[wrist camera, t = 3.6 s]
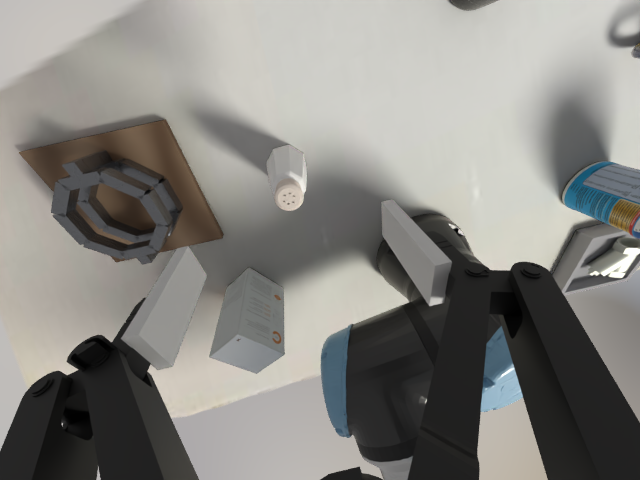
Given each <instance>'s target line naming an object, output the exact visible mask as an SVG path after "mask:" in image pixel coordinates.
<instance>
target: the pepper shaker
mask: <svg viewBox="0 0 640 480" xmlns="http://www.w3.org/2000/svg"><path fill="white" fill-rule="evenodd" d="M266 166H267V172H268V177H269V183H270V187H271V190H272V193H273V195H274V200H275V203H276V204H277V206H278V207H279V208H281V209H283V210H286V211H293V210H296V209H297V208H299V207H300V206H301V204H302V203H303V199H304V193H305V191H306V185H307V166H306V162H305V158H304V155H303V153H302V152H301V151H299V150H297V149H296V148H294V147H292V146H291V145H285V146H282V147H278V148H275V149H273V150H272V152H271V154H270V156H269V158H268V160H267V162H266Z"/></svg>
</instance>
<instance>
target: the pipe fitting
mask: <svg viewBox="0 0 640 480" xmlns="http://www.w3.org/2000/svg"><path fill="white" fill-rule="evenodd" d="M639 253H640V240H638V239H635V238H629V237H620V238H618V239H617V241H616V242H615V243H614V245H613V247H612V248H611V249H610V250H608V251H607V252H605V253H604V254H602V255H601V256H599V257H598V258H596V259H595V260H593V261H592V262H590V263H588V264H587V265H588V266H589V267H590V268H589V269H587V270H589V272H587V273H588V274H590V275H591V276H592V275H594V274H595V275H596V276H597V275H599V274H601V275H603V276H606V275H607V276H609V277H615V278H623V276H624V275H625V273H626V272H627V271H628V269H629V267H630V265H631V264H632V263H633V261H634V260H635V258H636V257H637V255H638V254H639Z"/></svg>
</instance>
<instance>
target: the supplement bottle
mask: <svg viewBox="0 0 640 480" xmlns="http://www.w3.org/2000/svg"><path fill="white" fill-rule="evenodd" d="M496 1H498V0H451V2H452V3H453V4H454V5H455V6H456V7H457V8H459V9H462V10H466V11H470V10H475V9H478V8H481V7H484V6H486V5H489V4H491V3H494V2H496Z"/></svg>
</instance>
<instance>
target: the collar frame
mask: <svg viewBox="0 0 640 480" xmlns="http://www.w3.org/2000/svg"><path fill="white" fill-rule="evenodd" d="M62 166H63V167H64V169H65V170H66V171H67V172H68V174H69V175H68V176H66V177H63V178H61V179H59V180H58V181H57V182H55V189H54V195H53V202H52V209H51V213H54V215H53V217H54V218H55V219H56V220H57V221H58V222H59V223H60V224H61V225H62V226H63V227H64V228H65V230H66V231H67V232H68V233H69V234H70V235H71V236H72V237H73V238H74V239H75V240H76V241H77V242H78V243H79V244H80V245H81V244H84V247H85V248H88V249H92V250H95V251H98V252H101V253H104V254H107V255H110V256H113V257H116V258H119V259H123V258H125V260H127V259H131V258H136V257H137V259H138V260H139V261H140V262H141V264H147V263H151V262H152V261H153V260H154V258H155V257H156V256H157V254H158V253H159V251H160V250H161V249H162V247H163V246H164V245H165V243H166V242H167V239H166V238H168V237H169V236H170V235H171V234H172V232H173V231H174V229H175V227H176V225H177V222H178V220H179V218H180V215H181V213H182V211H183V209H182V207H183V205H182V204H181V202H180V200H179V198H178V197H177V195H176V193H175V192H174V190H173V188H172V186H171V185H170V183H169V181H168V179H164V176H163V175H161V174H159V173H157V172H155V171H153V170H151V169H149V168H147V167H144V166H142V165H140V164H138V163H136V162H134V161H132V160H130V159H127V160H125V158H123V159H118V160H114V161H113V160H112V158H111V157H110V155H109V154H108V152H107V151H106V150H104V151H100V152H95V153H93V154H90V155H87V156H85V157H82V158H79V159H76V160H74V161H71V162H68V163H66V164H63V165H62ZM102 183H103V184H105V185H107V186H110V187H112V188H114V189H117V190H119V191H121V192H124V193H126V194H128V195H131V196H133V197H135V198H138V199H139V200H140V201H141V203H142V204H143V206H144V207H145V209H146V210H147V212H148V213H149V215H150V216H151V218H152V219H153V221H154V222H155V223H156V227H155V228H150V229H146V230H140V229H137V228H134V227H132V226H129V225H126V224H124V223H121V222H119V221H116V220H114V219H113V218H112V217H111V215H110V214H109V213H108V212H107V210H106V209H105V208H104V207H103V205H102V204H101V203H100V201H99V200H98V199H97V198H96V195H97V191H98V187H99V184H102ZM151 186H152V187H154V189H152V190H150V189H151ZM160 198H161V199H160ZM77 200H79V201H77ZM77 204H78V205H79V206H80V207H81V208H82V210H83V211H84V212H85V213H86V214H87V215H88V217H89V218H90V219H91V220H92V221H93V222H94V224H95V225H96V226H97V227H98V228H99V229H103V232H106V233H108V234H111V235H114V236H117V237H120V238H122V239H125V240H128V241H131V242H134V244H129V245H128V244H125V243H122V242H119V241H116V240H114V239H111V238H108V237H105V236H102V235H99V234H97V233H96V232H95V231H94V230H93V229H92V228H91V226H90V225H89V224H88V223H87V222H86V221H85V219H84V218H83V217H82V216H81V215H80V214H79V213H78V211H77V210H76V205H77ZM165 206H166V207H165Z"/></svg>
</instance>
